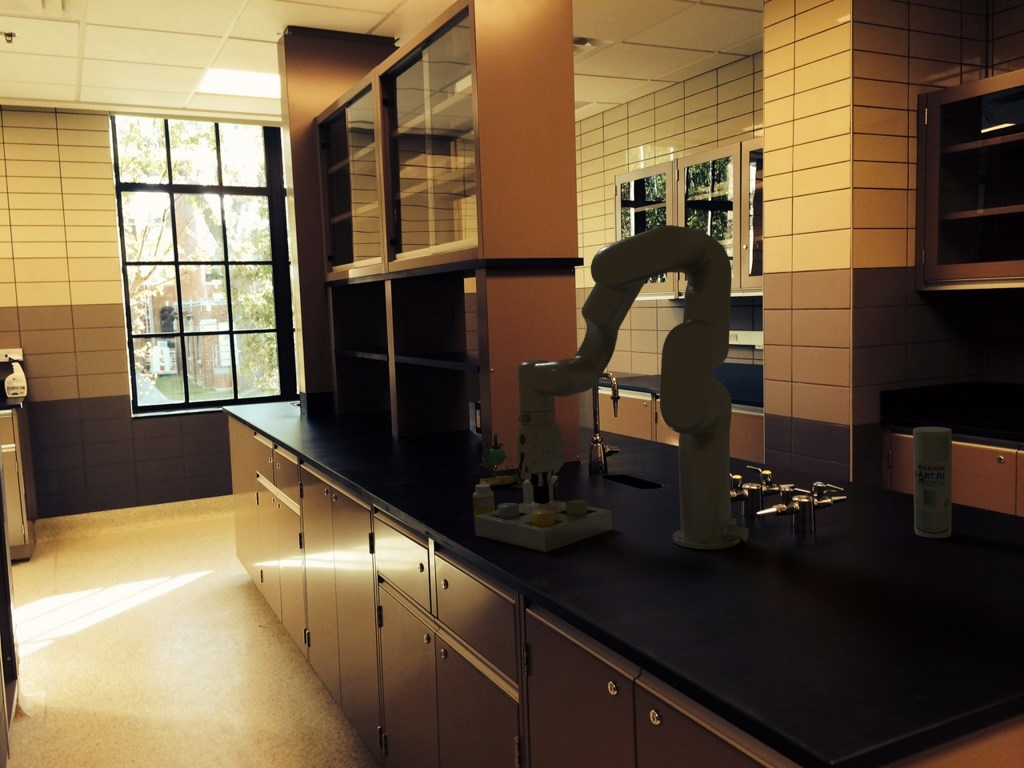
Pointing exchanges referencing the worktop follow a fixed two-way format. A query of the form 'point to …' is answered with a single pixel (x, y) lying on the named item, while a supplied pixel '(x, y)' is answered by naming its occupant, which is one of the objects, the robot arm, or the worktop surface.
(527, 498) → the medicine bottle
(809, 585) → the worktop surface
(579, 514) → the sage button
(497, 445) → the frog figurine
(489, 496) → the supplement bottle
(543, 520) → the amber rounded lump
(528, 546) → the panel
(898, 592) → the worktop surface
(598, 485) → the worktop surface
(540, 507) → the ivory button
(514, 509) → the slate button
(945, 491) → the spray can
